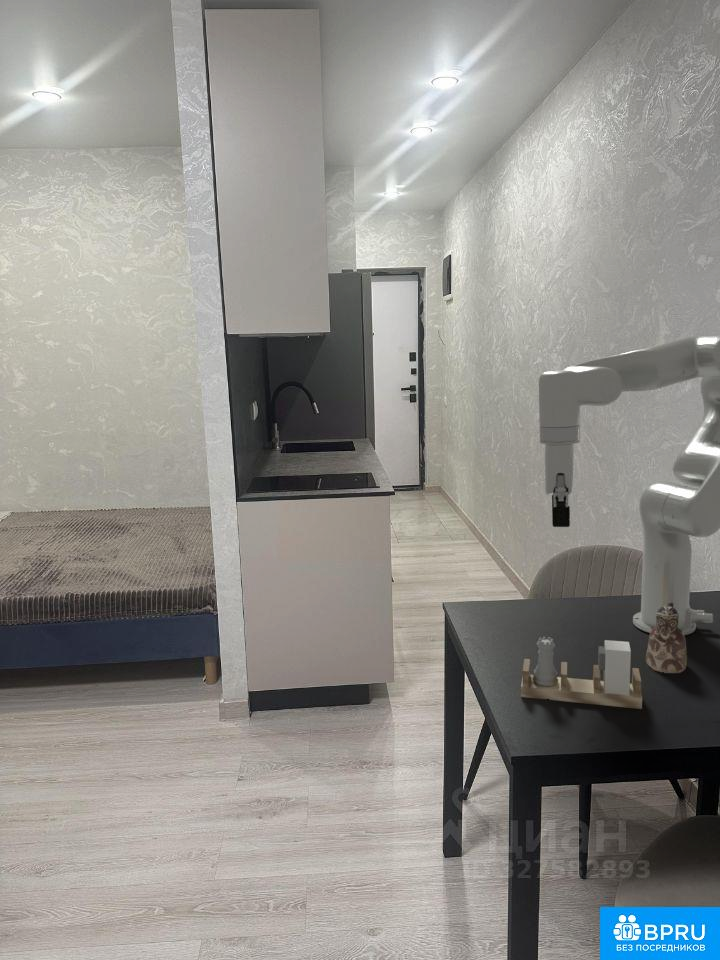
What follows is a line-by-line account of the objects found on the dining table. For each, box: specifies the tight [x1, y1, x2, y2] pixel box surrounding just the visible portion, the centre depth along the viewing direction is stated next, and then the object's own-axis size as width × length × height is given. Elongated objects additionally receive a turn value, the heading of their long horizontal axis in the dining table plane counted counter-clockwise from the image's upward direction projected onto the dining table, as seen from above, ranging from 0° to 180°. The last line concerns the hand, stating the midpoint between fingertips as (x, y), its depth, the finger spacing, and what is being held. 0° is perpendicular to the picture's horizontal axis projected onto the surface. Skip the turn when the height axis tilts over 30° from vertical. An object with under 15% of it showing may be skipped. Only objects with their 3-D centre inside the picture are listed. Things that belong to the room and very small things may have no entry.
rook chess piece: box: [532, 636, 559, 687], centre depth 124 cm, size 4×4×8 cm
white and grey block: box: [597, 639, 632, 695], centre depth 120 cm, size 5×4×8 cm
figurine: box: [645, 602, 688, 674], centre depth 132 cm, size 7×7×12 cm
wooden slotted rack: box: [520, 658, 643, 710], centre depth 122 cm, size 20×5×5 cm, turn 74°
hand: (560, 520), depth 138 cm, fingers open, 9 cm apart
